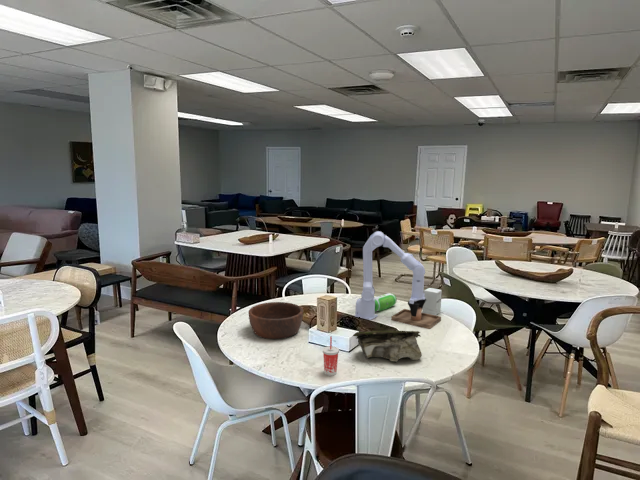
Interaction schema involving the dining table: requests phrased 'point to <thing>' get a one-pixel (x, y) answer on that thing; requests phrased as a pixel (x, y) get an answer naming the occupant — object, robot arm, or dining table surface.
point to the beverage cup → (330, 359)
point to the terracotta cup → (418, 315)
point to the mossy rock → (390, 344)
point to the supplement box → (432, 301)
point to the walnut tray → (425, 322)
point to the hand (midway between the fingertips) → (416, 314)
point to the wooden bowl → (275, 319)
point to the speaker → (384, 301)
